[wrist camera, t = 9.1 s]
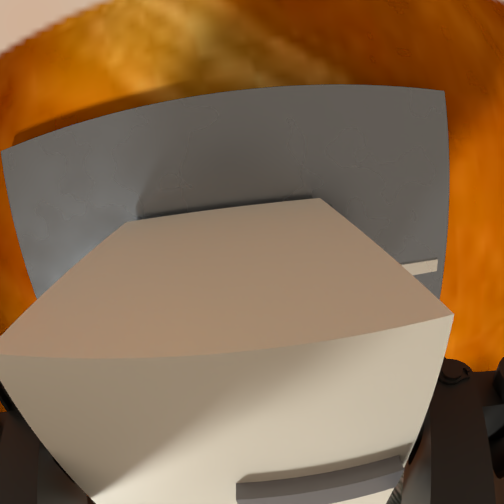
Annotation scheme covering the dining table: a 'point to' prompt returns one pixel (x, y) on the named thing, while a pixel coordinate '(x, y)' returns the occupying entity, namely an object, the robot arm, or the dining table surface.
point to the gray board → (240, 169)
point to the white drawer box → (231, 361)
